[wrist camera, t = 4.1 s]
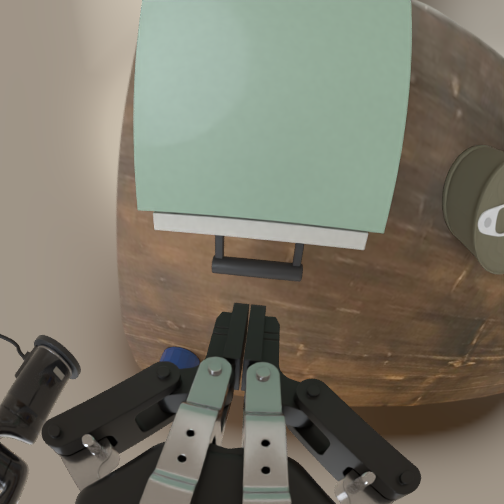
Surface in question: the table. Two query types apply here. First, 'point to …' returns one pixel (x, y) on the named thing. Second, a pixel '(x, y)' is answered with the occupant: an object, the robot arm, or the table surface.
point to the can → (477, 204)
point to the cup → (180, 357)
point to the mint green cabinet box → (272, 108)
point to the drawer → (259, 230)
